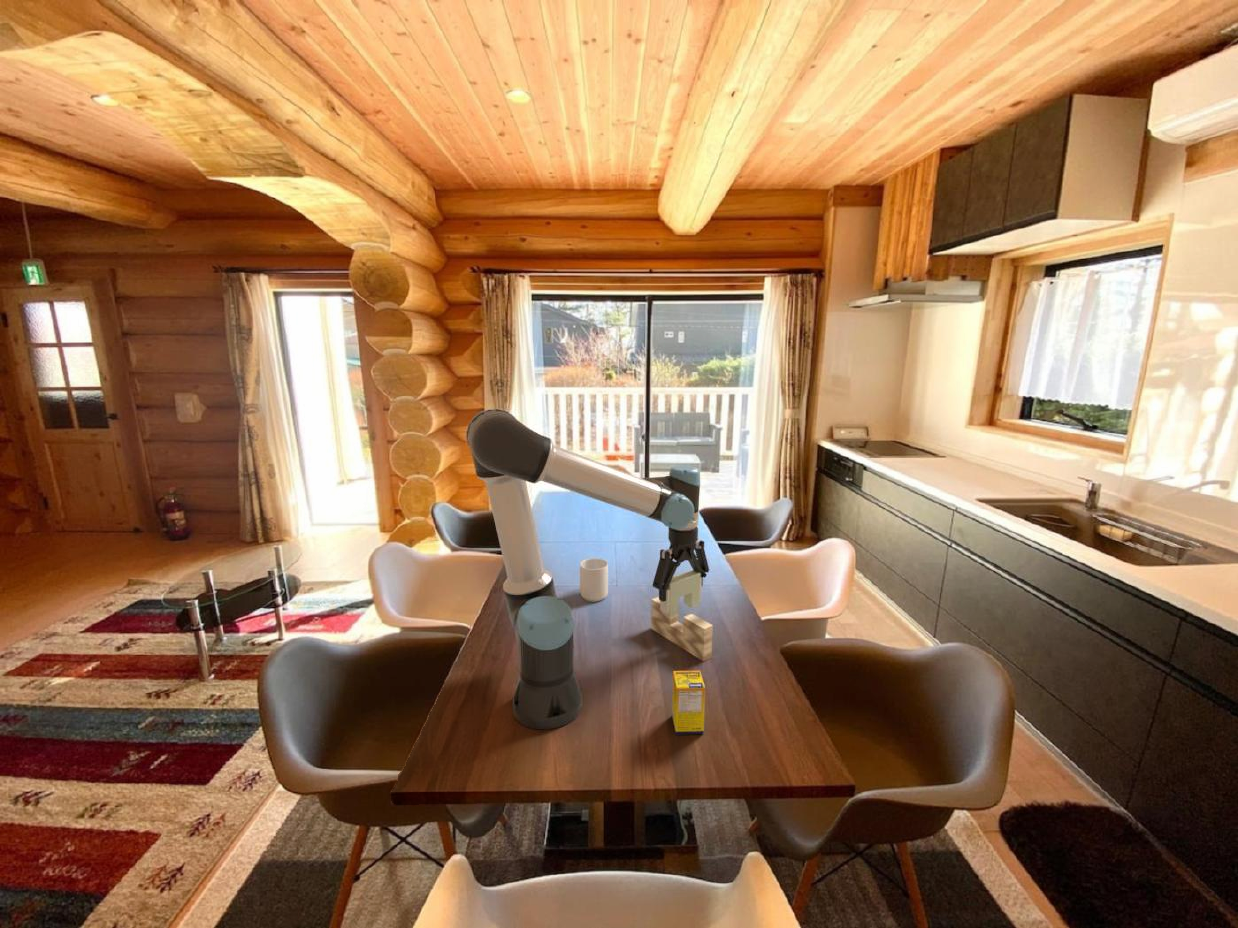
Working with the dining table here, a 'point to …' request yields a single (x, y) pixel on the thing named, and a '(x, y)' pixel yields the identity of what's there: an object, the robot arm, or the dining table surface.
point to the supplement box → (688, 702)
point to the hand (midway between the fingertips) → (680, 604)
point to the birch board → (683, 631)
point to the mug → (594, 579)
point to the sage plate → (684, 590)
